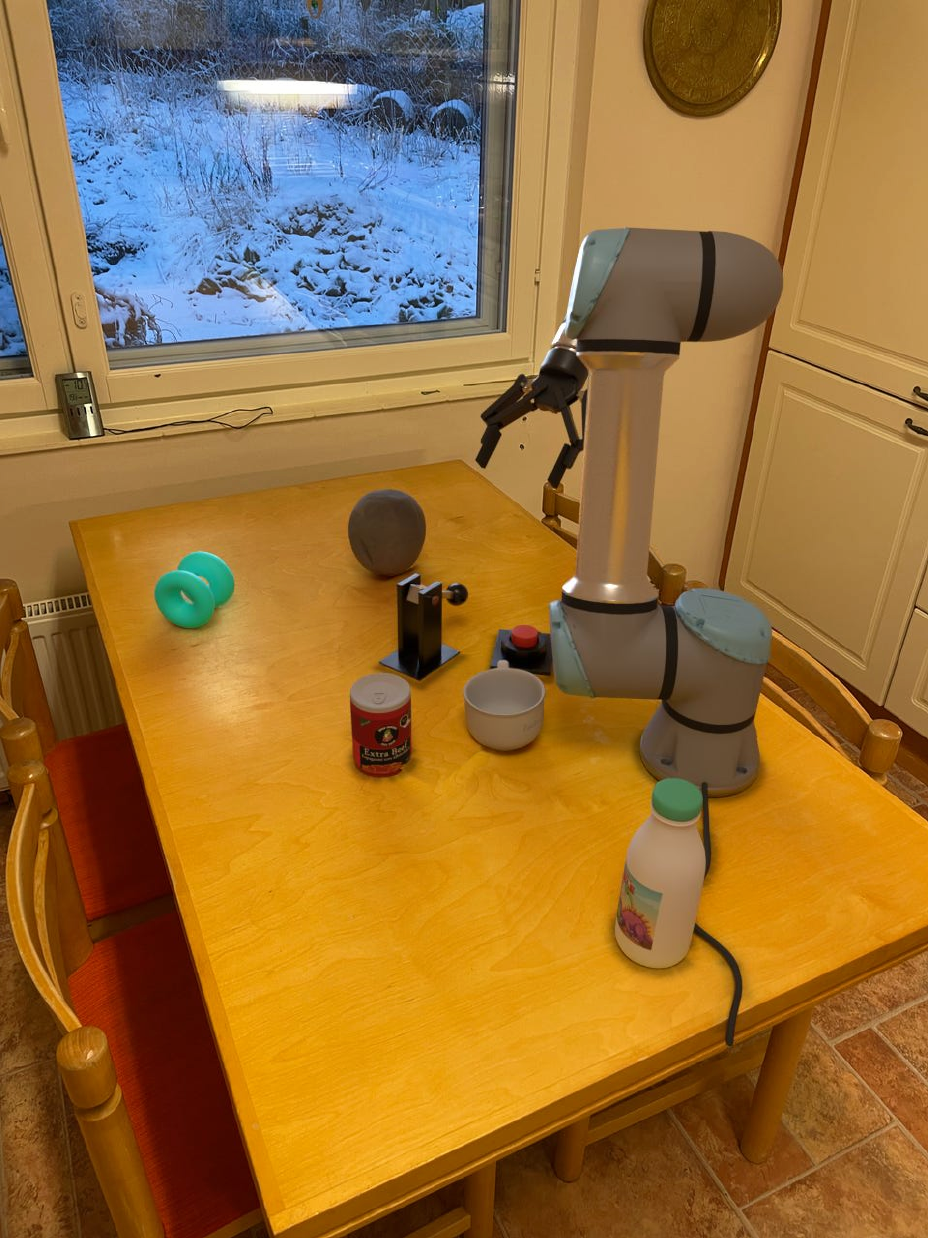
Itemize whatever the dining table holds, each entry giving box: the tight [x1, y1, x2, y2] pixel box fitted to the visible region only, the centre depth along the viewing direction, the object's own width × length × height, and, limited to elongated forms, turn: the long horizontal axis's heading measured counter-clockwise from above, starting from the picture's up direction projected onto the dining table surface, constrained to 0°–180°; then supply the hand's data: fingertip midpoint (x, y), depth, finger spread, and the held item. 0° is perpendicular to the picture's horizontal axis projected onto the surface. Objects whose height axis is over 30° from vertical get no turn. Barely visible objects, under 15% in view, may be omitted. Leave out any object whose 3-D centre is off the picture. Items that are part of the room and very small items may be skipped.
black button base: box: [489, 628, 553, 677], centre depth 139 cm, size 11×9×4 cm
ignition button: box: [511, 624, 539, 648], centre depth 138 cm, size 4×4×2 cm
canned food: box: [349, 672, 412, 778], centre depth 115 cm, size 8×8×11 cm
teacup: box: [462, 660, 547, 752], centre depth 122 cm, size 14×11×8 cm
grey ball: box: [347, 488, 427, 577], centre depth 161 cm, size 14×14×15 cm
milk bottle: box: [614, 778, 706, 969], centre depth 89 cm, size 8×8×20 cm
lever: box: [407, 582, 469, 607], centre depth 137 cm, size 13×4×4 cm, turn 143°
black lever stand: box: [378, 573, 461, 682], centre depth 135 cm, size 10×8×14 cm
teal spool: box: [153, 551, 236, 629], centre depth 147 cm, size 10×10×10 cm
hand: (515, 474), depth 143 cm, fingers open, 13 cm apart
